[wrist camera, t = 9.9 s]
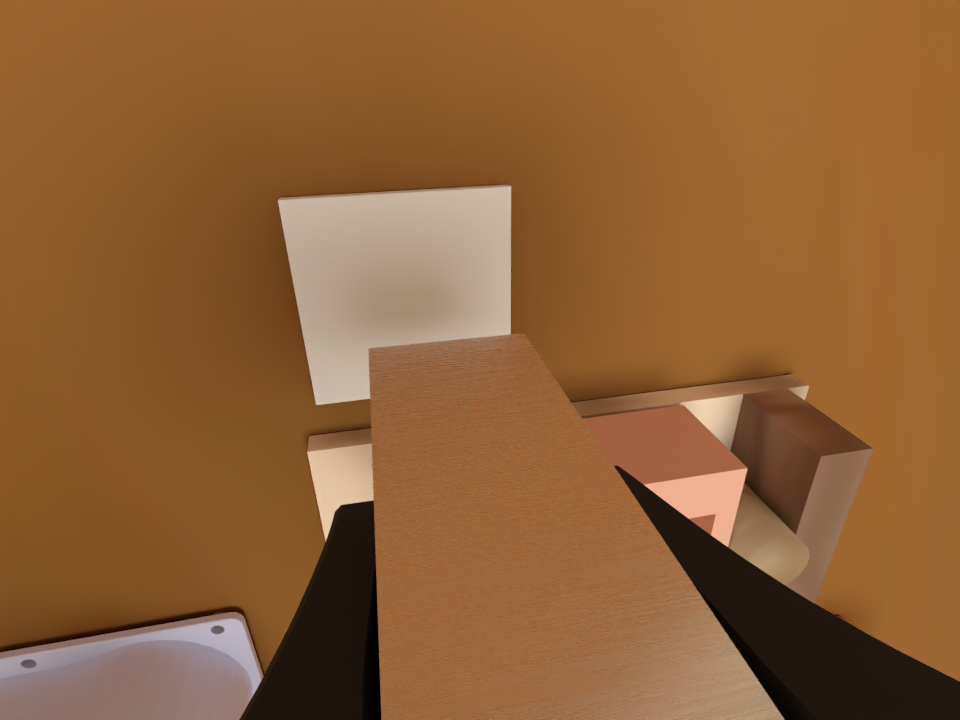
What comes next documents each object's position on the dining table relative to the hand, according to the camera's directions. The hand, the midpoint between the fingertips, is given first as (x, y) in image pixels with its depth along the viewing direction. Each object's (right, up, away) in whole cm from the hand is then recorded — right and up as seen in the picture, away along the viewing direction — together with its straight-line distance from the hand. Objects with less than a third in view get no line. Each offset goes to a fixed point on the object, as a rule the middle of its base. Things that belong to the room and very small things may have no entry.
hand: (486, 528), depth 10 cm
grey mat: (-3, +5, +9) cm, 10 cm away
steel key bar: (-1, +2, +4) cm, 4 cm away
